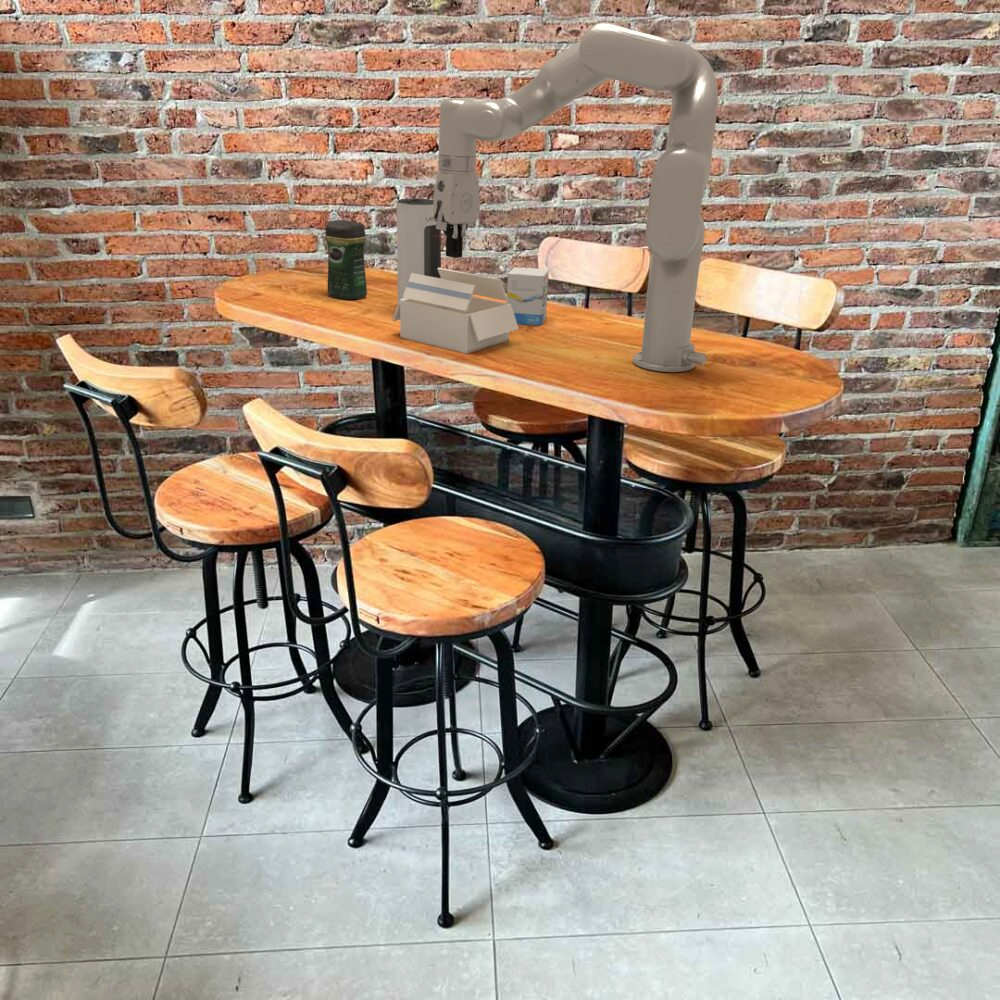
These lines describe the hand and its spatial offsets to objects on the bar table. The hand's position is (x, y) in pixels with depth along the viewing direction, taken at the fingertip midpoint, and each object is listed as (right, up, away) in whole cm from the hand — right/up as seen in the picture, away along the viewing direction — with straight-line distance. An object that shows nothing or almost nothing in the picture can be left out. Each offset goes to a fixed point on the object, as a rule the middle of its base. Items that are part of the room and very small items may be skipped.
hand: (453, 256), depth 204 cm
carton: (0, -16, +7) cm, 18 cm away
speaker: (-10, -6, +29) cm, 31 cm away
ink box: (+16, -9, +25) cm, 31 cm away
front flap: (-4, -11, -2) cm, 11 cm away
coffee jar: (-29, 0, +42) cm, 51 cm away
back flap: (+4, -6, +9) cm, 12 cm away
